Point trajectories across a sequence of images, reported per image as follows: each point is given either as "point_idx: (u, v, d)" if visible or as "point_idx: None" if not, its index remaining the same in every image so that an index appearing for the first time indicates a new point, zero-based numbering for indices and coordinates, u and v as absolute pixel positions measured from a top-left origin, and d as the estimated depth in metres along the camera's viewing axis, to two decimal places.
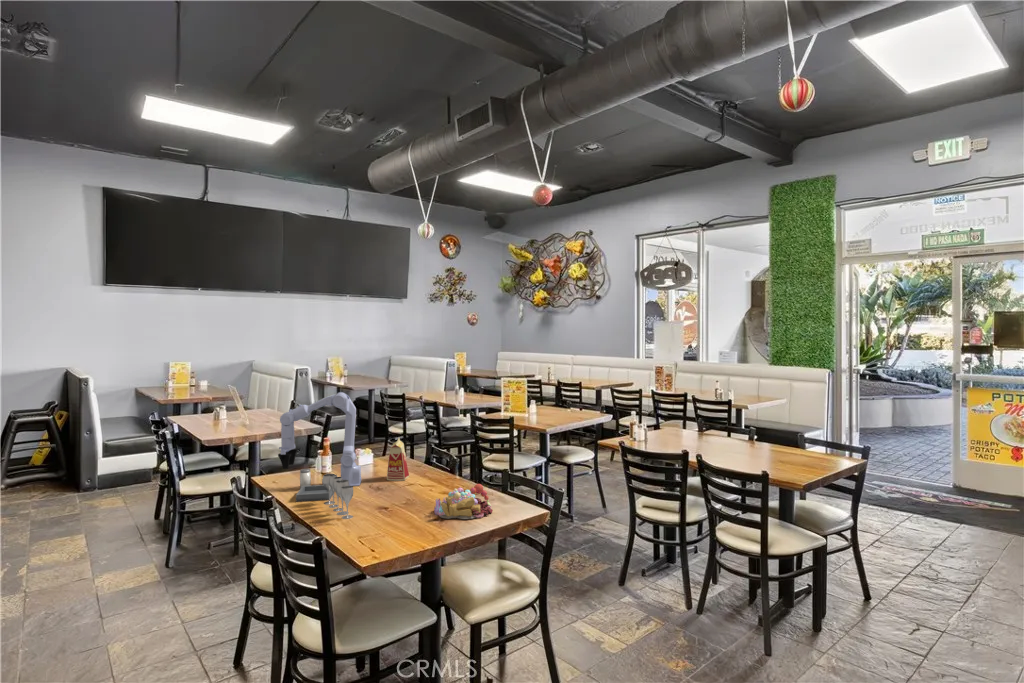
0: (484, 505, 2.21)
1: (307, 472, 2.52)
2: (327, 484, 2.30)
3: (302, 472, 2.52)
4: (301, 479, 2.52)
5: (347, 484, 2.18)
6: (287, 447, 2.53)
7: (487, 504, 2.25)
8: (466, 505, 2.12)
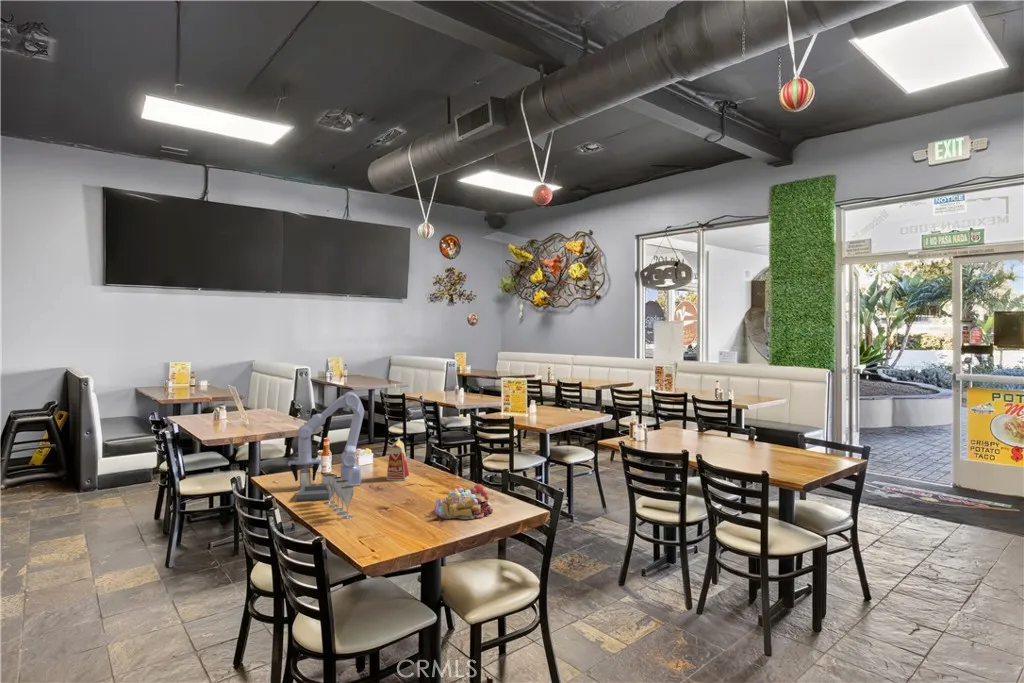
0: (484, 505, 2.21)
1: (307, 472, 2.52)
2: (327, 484, 2.30)
3: (302, 472, 2.52)
4: (301, 479, 2.52)
5: (347, 484, 2.18)
6: (298, 460, 2.53)
7: (487, 504, 2.25)
8: (466, 505, 2.12)
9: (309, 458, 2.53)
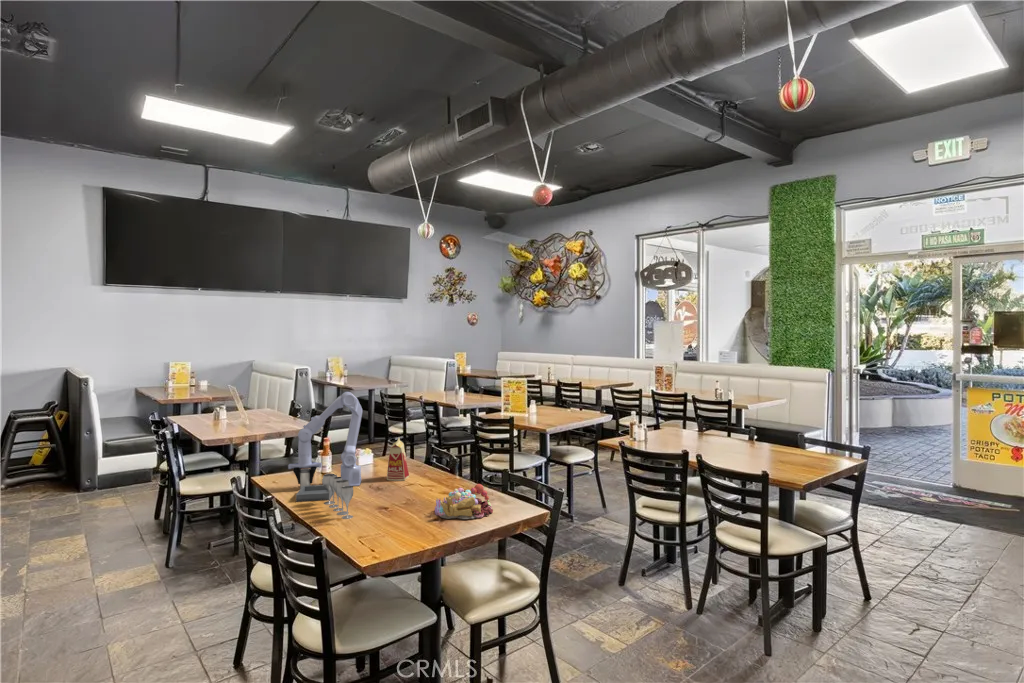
0: (484, 505, 2.21)
1: (307, 472, 2.52)
2: (327, 484, 2.30)
3: (302, 472, 2.52)
4: (301, 479, 2.52)
5: (347, 484, 2.18)
6: (298, 463, 2.53)
7: (487, 504, 2.25)
8: (466, 505, 2.12)
9: (309, 461, 2.53)
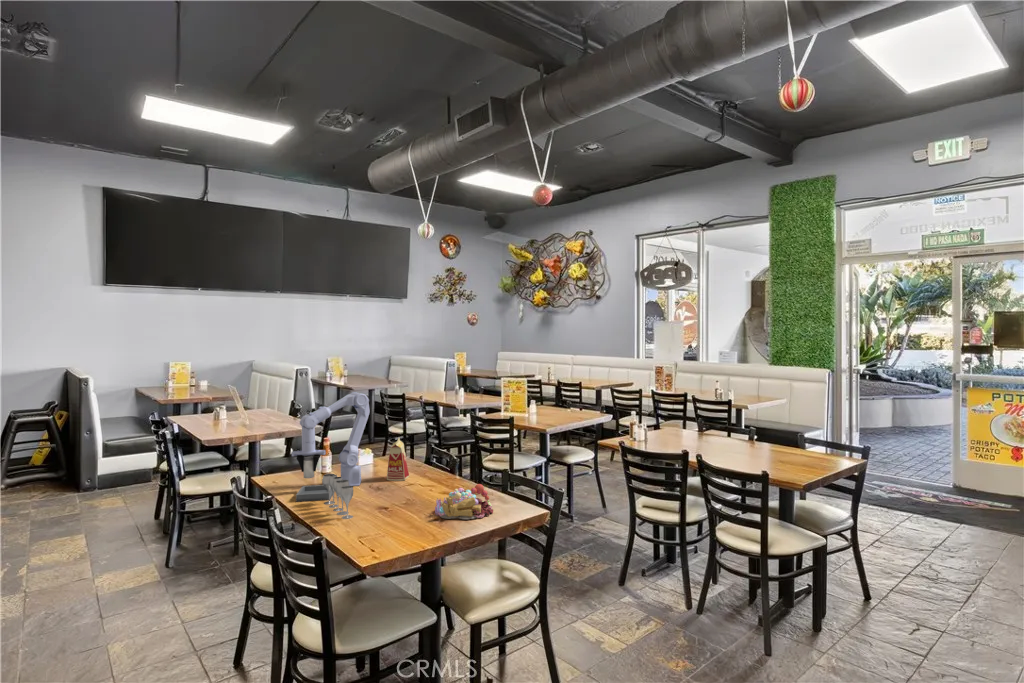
0: (485, 505, 2.21)
1: (311, 460, 2.48)
2: (327, 484, 2.30)
3: (306, 460, 2.48)
4: (305, 467, 2.48)
5: (347, 484, 2.18)
6: None
7: (488, 504, 2.25)
8: (467, 505, 2.12)
9: (313, 448, 2.48)
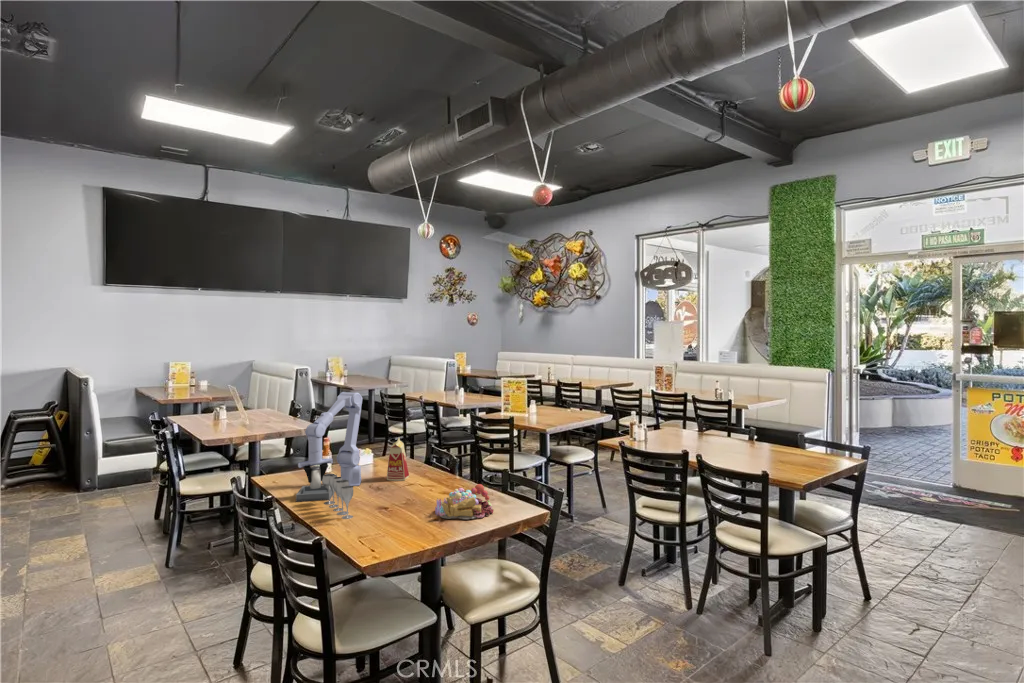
0: (485, 505, 2.21)
1: (319, 469, 2.42)
2: (327, 484, 2.30)
3: (315, 469, 2.40)
4: (313, 477, 2.40)
5: (347, 484, 2.18)
6: (309, 461, 2.40)
7: (488, 504, 2.24)
8: (467, 505, 2.12)
9: (321, 457, 2.42)
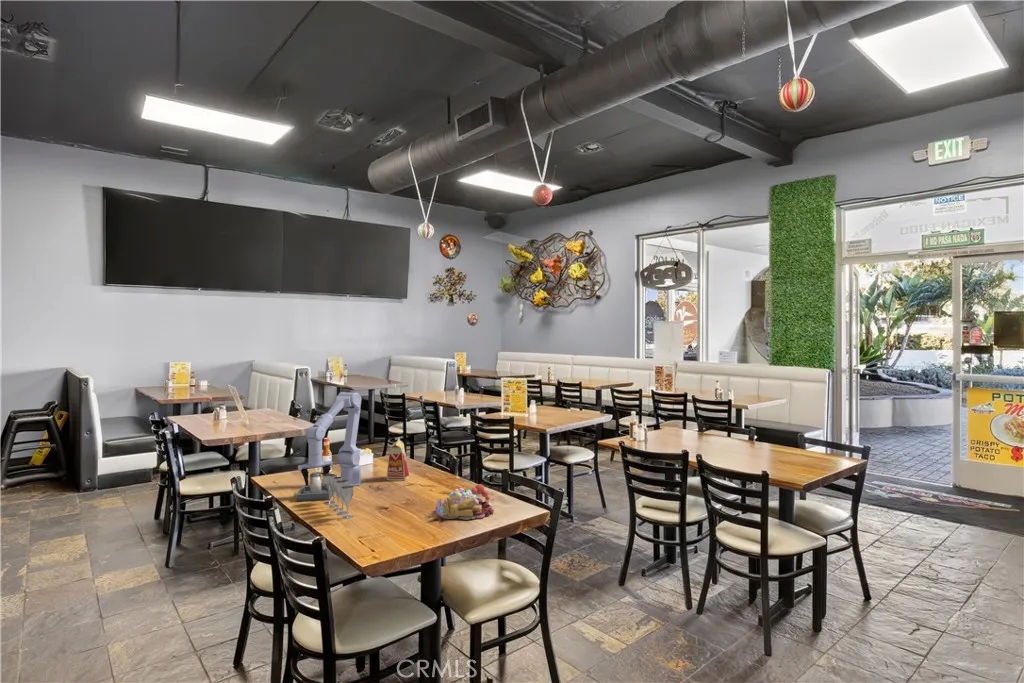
0: (485, 505, 2.21)
1: (319, 475, 2.42)
2: (327, 484, 2.30)
3: (315, 476, 2.40)
4: (313, 484, 2.40)
5: (347, 484, 2.18)
6: (309, 463, 2.40)
7: (488, 504, 2.24)
8: (467, 505, 2.12)
9: (321, 460, 2.42)
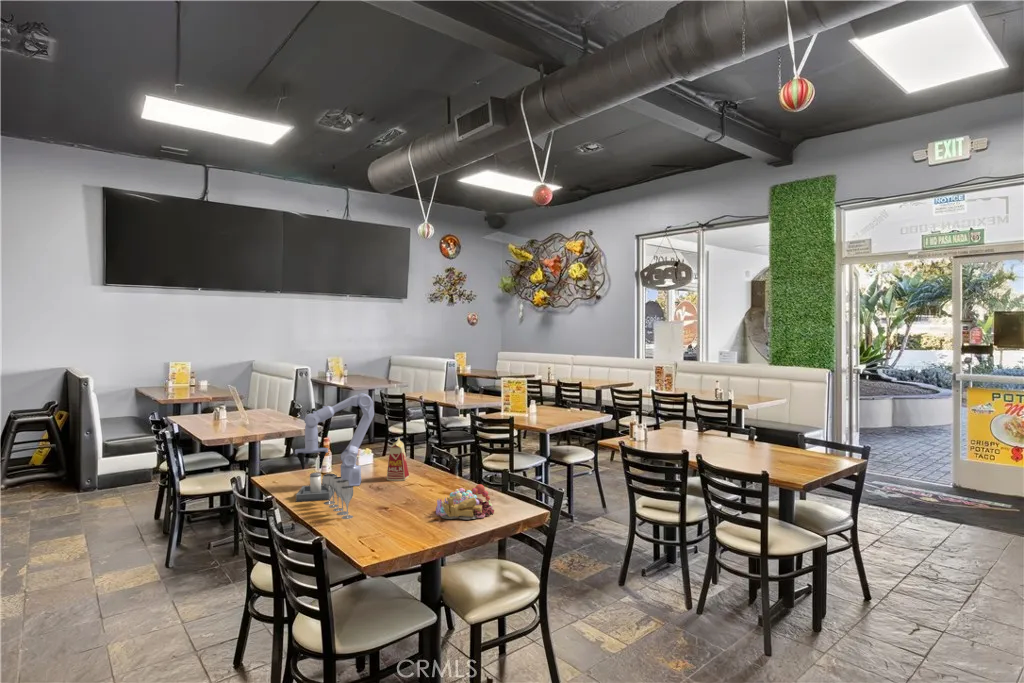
0: (485, 505, 2.20)
1: (319, 476, 2.42)
2: (327, 484, 2.30)
3: (315, 476, 2.40)
4: (313, 484, 2.40)
5: (347, 484, 2.18)
6: (305, 448, 2.53)
7: (488, 504, 2.24)
8: (468, 505, 2.12)
9: (316, 446, 2.53)
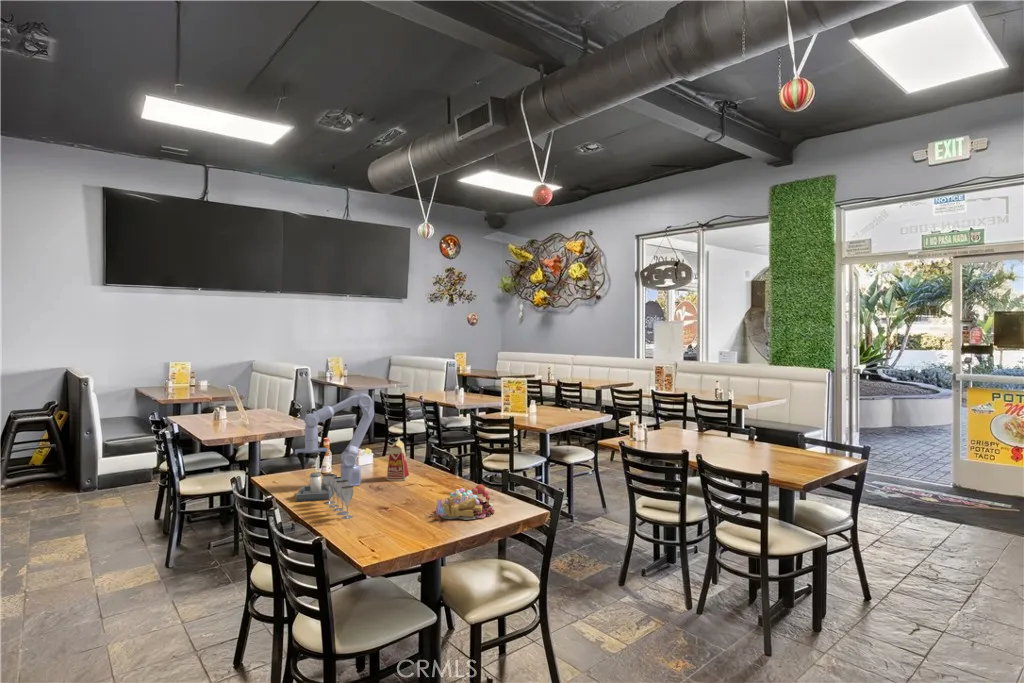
0: (486, 505, 2.20)
1: (320, 476, 2.42)
2: (327, 484, 2.30)
3: (315, 476, 2.40)
4: (313, 484, 2.40)
5: (347, 484, 2.18)
6: (305, 448, 2.53)
7: (489, 504, 2.24)
8: (468, 506, 2.12)
9: (316, 446, 2.53)
